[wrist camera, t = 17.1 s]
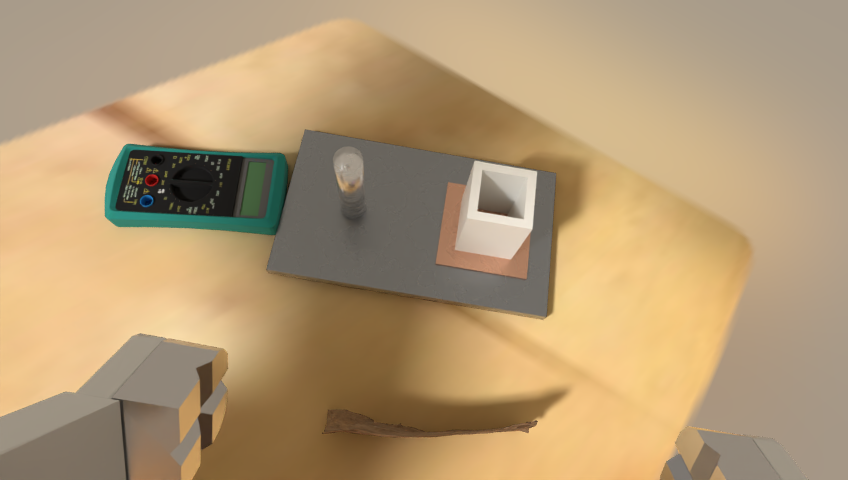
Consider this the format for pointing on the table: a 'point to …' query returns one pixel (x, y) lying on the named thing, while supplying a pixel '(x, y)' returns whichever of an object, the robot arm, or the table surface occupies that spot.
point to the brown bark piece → (397, 427)
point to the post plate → (403, 227)
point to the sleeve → (496, 210)
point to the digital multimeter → (197, 189)
